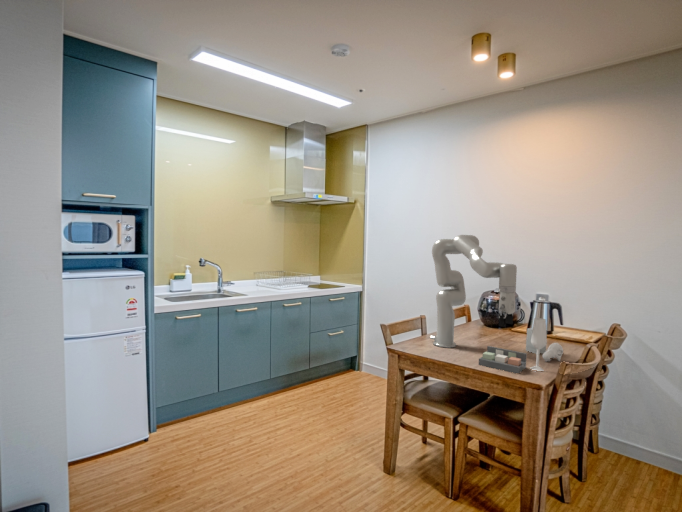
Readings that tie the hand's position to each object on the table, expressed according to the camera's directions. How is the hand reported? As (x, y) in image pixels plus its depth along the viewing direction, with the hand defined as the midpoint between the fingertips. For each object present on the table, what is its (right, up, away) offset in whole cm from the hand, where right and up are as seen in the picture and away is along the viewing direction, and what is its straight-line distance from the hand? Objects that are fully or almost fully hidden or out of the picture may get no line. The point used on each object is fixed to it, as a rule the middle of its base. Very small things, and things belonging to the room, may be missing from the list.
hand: (505, 325), depth 192 cm
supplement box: (+27, -20, +27) cm, 43 cm away
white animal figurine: (+28, -20, +12) cm, 37 cm away
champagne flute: (+13, -20, -4) cm, 25 cm away
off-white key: (-3, -17, -2) cm, 17 cm away
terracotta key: (+2, -17, -6) cm, 18 cm away
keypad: (-2, -20, -1) cm, 20 cm away
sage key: (-7, -17, +2) cm, 18 cm away
